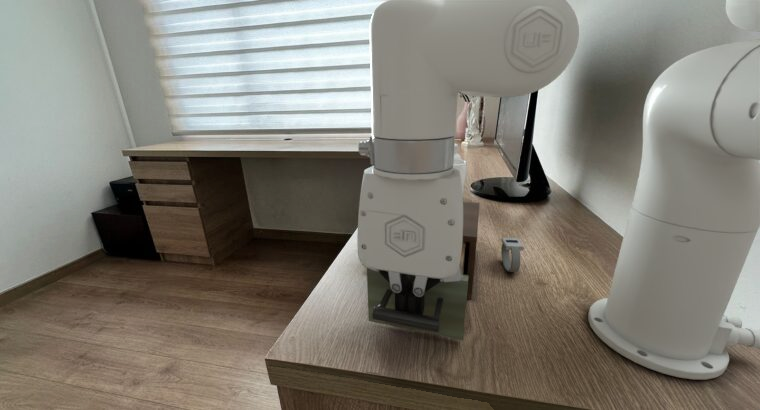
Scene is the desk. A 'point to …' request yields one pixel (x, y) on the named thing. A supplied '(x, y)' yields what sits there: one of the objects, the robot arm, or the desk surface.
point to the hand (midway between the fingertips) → (409, 318)
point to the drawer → (439, 306)
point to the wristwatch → (515, 249)
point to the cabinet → (470, 240)
